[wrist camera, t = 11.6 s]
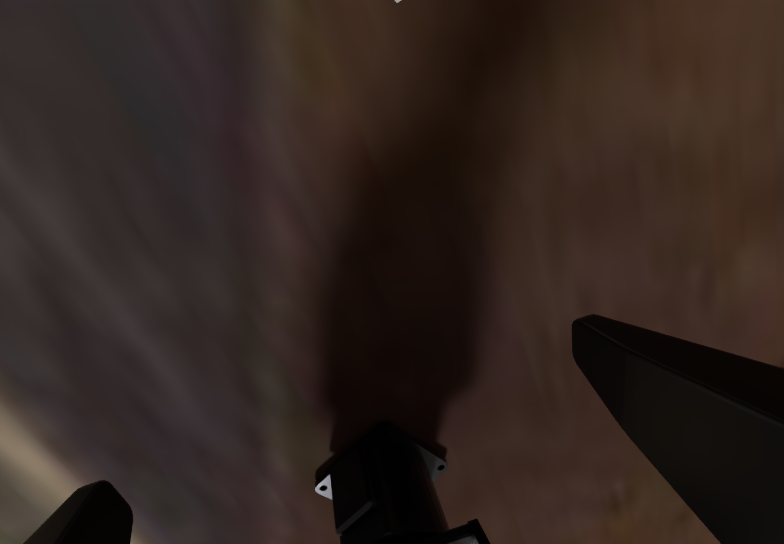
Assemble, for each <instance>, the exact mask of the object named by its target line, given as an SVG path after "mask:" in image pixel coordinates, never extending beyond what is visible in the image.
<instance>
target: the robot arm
mask: <svg viewBox="0 0 784 544" xmlns="http://www.w3.org/2000/svg"><path fill="white" fill-rule="evenodd" d="M572 352H573V357H574V360H575V362H576V364H577V365H578V367H579V368H580V369H581V371H582V372H583V374H584V375H585V377H586V378H587V380H588V381H589V382H590V384H591V385H592V387H593V388H594V390H595V391H596V392H597V394H598V395H599V397H600V398H601V400H602V401H603V402H604V404H605V405H606V407H607V408H608V410H609V411H610V412H611V414H612V415H613V417H614V418H615V420H616V421H617V422H618V424H619V425H620V426H621V428H622V429H623V430H624V431H625V433H626V434H627V435H628V436H629V437H630V439H631V440H632V441H633V442H634V443H635V445H636V446H637V447H638V448H639V449H640V450H641V452H642V453H643V454H644V455H645V456H646V457H647V458H648V460H649V461H650V462H651V463H652V464H653V465H654V467H655V468H656V469H657V470H658V471H659V472H660V474H661V475H662V476H663V477H664V478H665V479H666V481H667V482H668V483H669V484H670V485H671V486H672V488H673V489H674V490H675V491H676V492H677V493H678V495H679V496H680V497H681V498H682V499H683V500H684V501H685V503H686V504H687V505H688V506H689V507H690V508H691V510H692V511H693V512H694V513H695V514H696V515H697V517H698V518H699V519H700V520H701V521H702V522H703V524H704V525H705V526H706V527H707V528H708V529H709V531H710V532H711V533H712V534H713V535H714V536H715V538H716V539H717V540H718V541H719V542H720V543H721V544H784V368H780V367H777V366H774V365H770V364H767V363H763V362H760V361H756V360H753V359H749V358H746V357H742V356H739V355H735V354H732V353H728V352H725V351H721V350H718V349H714V348H711V347H707V346H704V345H700V344H697V343H693V342H690V341H686V340H683V339H679V338H676V337H672V336H669V335H665V334H662V333H658V332H655V331H651V330H648V329H644V328H641V327H638V326H634V325H631V324H627V323H624V322H620V321H617V320H613V319H610V318H606V317H603V316H599V315H595V314H591V315H587V316H584V317H581V318H578V319H576V320H574V321H573V323H572ZM384 430H386V431H384ZM447 468H448V463H447V461H446V459H445V458H444V457H442V456H441V455H439V454H437V453H436V452H434V451H433V450H431V449H430V448H428V447H427V446H425V445H424V444H422V443H420V442H419V441H417V440H416V439H414V438H413V437H411V436H410V435H408V434H407V433H405V432H404V431H402V430H400V429H399V428H397V427H396V426H394V425H393V424H391V423H389V422H382V423H380V424H379V425H378V426H376V427H375V428H374V429H373V430H372V431H371V432H370V433H369V434H368V435H366V436H365V437H364V438H363V439H362V440H361V441H360V442H359V443H358V444H356V445H355V446H354V447H353V448H352V449H351V450H350V451H349V452H348V453H346V454H345V455H344V456H343V457H342V458H341V459H340V460H339V461H337V462H336V463H335V464H334V465H333V466H332V467H331V468H330V469H329V470H327V471H326V472H325V473H324V474H323V475H322V476H321V477H320V478H319V479H317V481H316V482H315V490H316V492H317V493H319V494H321V495H323V496H325V497H327V498H329V499H331V500H333V510H334V519H335V528H336V533H337V534H338V535H340V543H341V544H490V542H489V540H488V538H487V537H486V535H485V533H484V531H483V529H482V527H481V525H480V523H479V521H478V520H477V519H474V520H471V521H468V522H467V523H468V524H465V525H462V526H459V527H456V528H453V529H449V527H448V524H447V521H446V518H445V515H444V513H443V510H442V507H441V504H440V501H439V499H438V496H437V493H436V490H435V488H434V485H433V481H434V480H435V479H436V478H437V477H439V476H440V475H441V474H442V473H443V472H445V471H446V470H447ZM132 524H133V514H132V510H131V507H130V506H129V504H128V503H127V502H126V501H125V499H124V498H123V497H122V496H121V495H120V494H119V492H118V491H117V490H116V489H115V488H114V487H113V485H112V484H111V483H110V482H108V481H105V480H101V481H97V482H94V483H91V484H89V485H86V486H83V487H81V488H79V489H77V490H76V491H75V492H74V493H73V494H72V495H71V496H70V497H69V498H68V499H67V500H66V501H65V502H64V503H63V504H62V505H61V506H60V507H59V508H58V509H57V510H56V511H55V512H54V513H53V514H52V515H51V516H50V517H49V518H48V519H47V520H46V521H45V522H44V523H43V524H42V525H41V526H40V527H39V528H38V529H37V530H36V531H35V532H34V533H33V534H32V535H31V536H30V537H29V538H28V539H27V540H26V541H25V542H24V543H23V544H130V540H131V532H132Z"/></svg>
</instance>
